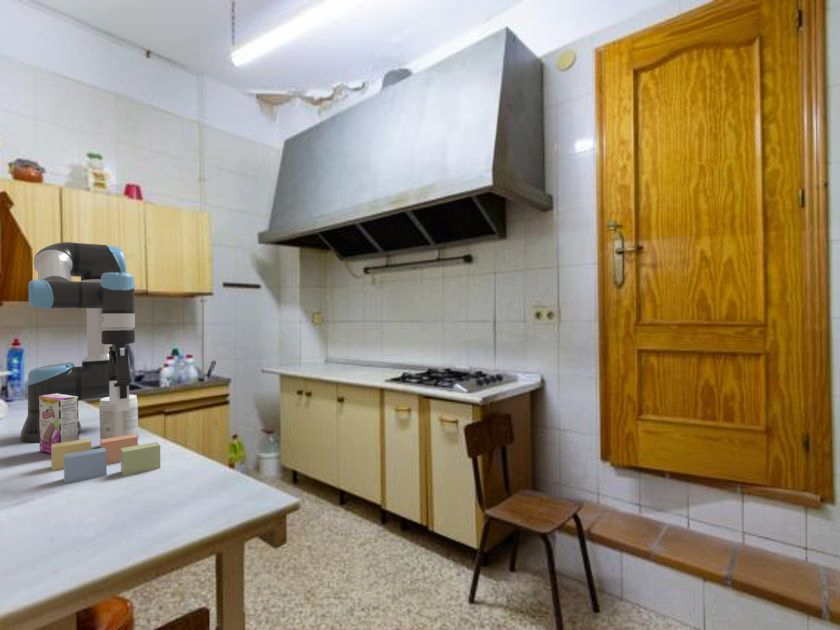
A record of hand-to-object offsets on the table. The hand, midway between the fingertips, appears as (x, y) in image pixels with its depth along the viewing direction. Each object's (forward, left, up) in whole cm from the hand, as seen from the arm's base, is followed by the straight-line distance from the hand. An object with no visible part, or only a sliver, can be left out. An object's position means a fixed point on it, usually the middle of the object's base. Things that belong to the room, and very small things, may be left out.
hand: (118, 407), depth 118 cm
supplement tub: (-16, +2, -15) cm, 22 cm away
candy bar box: (-20, -12, -15) cm, 27 cm away
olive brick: (+13, +3, -15) cm, 20 cm away
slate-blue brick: (+9, -8, -15) cm, 19 cm away
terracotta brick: (0, 0, -15) cm, 15 cm away
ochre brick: (-4, -10, -15) cm, 18 cm away
